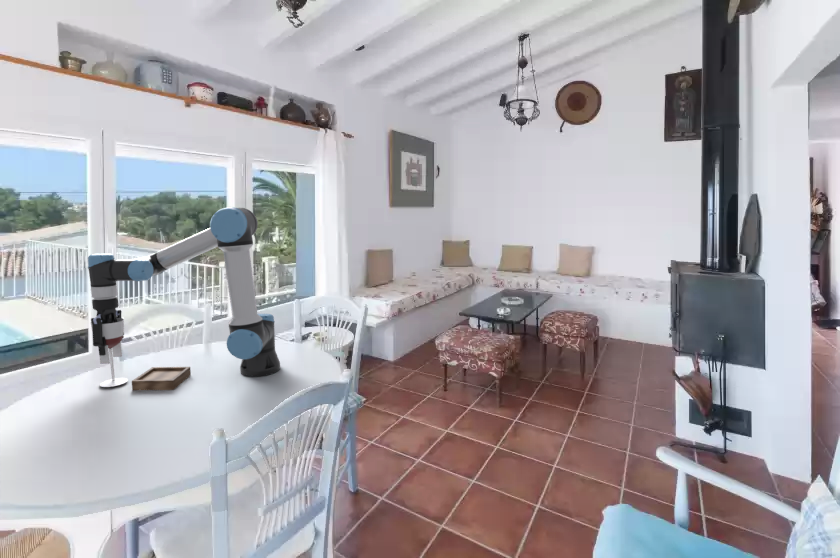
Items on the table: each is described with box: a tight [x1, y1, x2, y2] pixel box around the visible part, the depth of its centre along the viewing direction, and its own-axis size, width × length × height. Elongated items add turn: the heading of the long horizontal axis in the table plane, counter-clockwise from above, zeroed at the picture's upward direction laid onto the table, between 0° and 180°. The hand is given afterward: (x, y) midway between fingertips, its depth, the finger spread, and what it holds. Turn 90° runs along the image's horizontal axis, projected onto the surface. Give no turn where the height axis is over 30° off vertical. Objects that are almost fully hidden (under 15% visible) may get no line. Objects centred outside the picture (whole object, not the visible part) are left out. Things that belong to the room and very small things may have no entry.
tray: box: [131, 366, 192, 391], centre depth 162 cm, size 14×14×4 cm
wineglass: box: [90, 318, 129, 388], centre depth 158 cm, size 9×10×23 cm
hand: (111, 359), depth 158 cm, fingers closed on wineglass, 7 cm apart
